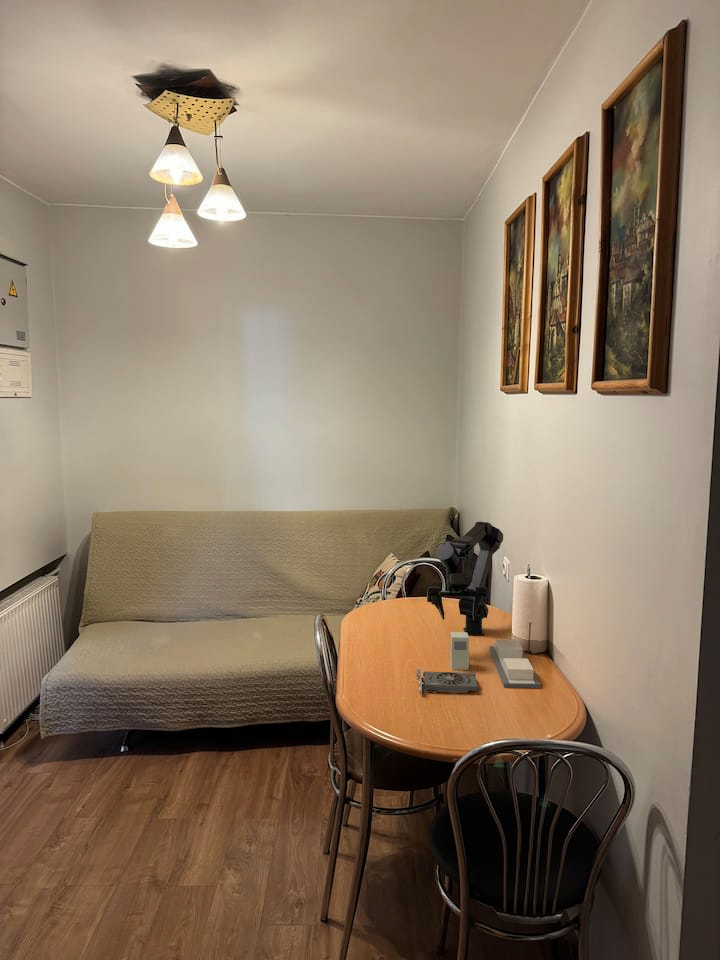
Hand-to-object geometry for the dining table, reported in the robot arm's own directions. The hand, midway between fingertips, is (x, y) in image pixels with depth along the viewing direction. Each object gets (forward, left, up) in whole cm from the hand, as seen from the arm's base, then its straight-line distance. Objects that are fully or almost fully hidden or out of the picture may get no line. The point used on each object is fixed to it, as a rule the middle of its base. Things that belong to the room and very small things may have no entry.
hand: (458, 619), depth 191 cm
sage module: (+4, 0, -13) cm, 14 cm away
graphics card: (+19, -5, -14) cm, 24 cm away
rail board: (+4, +16, -13) cm, 21 cm away
